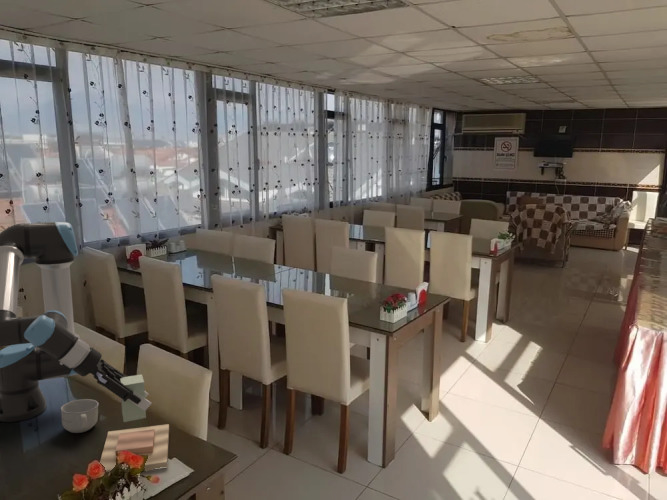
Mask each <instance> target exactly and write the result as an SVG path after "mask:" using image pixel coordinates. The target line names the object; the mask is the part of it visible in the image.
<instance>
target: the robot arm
mask: <svg viewBox="0 0 667 500" xmlns="http://www.w3.org/2000/svg"><path fill="white" fill-rule="evenodd" d="M78 255H79V250H78V246H77V241H76V236H75V231H74V228H73V225H72V224H71V223H70V222H65V221H64V222H63V221H50V222H49V221H48V222H46V221H45V222H34V223H33V222H31V223H25V222H24V223H16V224H13V225H10V226H9V227H7V228H4V230H2V231H1V232H0V347H1V348H2V347H4V348H2V349H0V422H3V423H5V422H6V423H13V422H20V421H25V420H28V419H31V418H35V417H36V416H39V415H40V414H41V413H43V412H44V411H46V409H47V400H46V398H45V396H44V394H43V392H42V389H41V388H40V383H39V381H44V380H52V379H58V378H65V377H67V378H68V377H70V376H75V375H79V376H81V377H86V376H88V375H89V374H92V375H93V378H94V379H95V380H96V383H97V384H98V385H101V386H102V387H104V388H106V389H107V390H108V391H110V392H111V393H113V394H114V395H116V396H118V397H119V398H122V399H123V400H124V402H125V401H126V400H129V401H130V402H132V403H133V404H135V405H136V406H138V407H139V408H141V409H142V410H144V411H145V410H146V411H147V409H148V408H149V407H150V406H151V405H152V402H151V401H150V400H148V399H147V397H148V396H149V395H150V394H149V393H148V392H147V391H146V390H145V398H144V397H142V396H141V395H139V394H138V393H136V392H135V391H132V390H130V389H129V388H128V387H126V386H125V385H124V384H123V383H121V382H120V378H123V377H128V375H126V374H124V373H122V372H121V371H120V370H118V369H117V368H115V367H114V366H112V365H111V364H110V363H108V362H106V360H104V359H102V353H101V352H100V351H98V350H97V349H95V348H93V347H90V345H89V344H88V343H87V342H85V340H82V339H81V337H80V335H79V334H78V333H76V332H75V321H74V308H73V306H74V305H73V295H72V294H73V293H72V292H73V291H72V281H71V279H72V278H71V269H70V266H71V265H72V264H73V263H74V262H75V257H77V256H78ZM25 259H34V262H35V263H34V264H35V265H36V266H37V267H38V268H40V271H41V272H40V273H41V274H40V275H41V284H42V285H41V286H42V296H43V308H44V313H42V314H36V315H28V316H18V303H19V302H18V301H19V285H20V283H19V282H20V266H21V265H22V264H23V263H24V260H25Z"/></svg>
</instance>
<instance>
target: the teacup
mask: <svg viewBox="0 0 667 500" xmlns="http://www.w3.org/2000/svg"><path fill="white" fill-rule="evenodd" d="M60 411H61V413H60V414H61V424H62V427H63V429H65V431H68V432H69V433H72V434H73V433H74V434H79V433H85V432H87V431H90V430H91V429H92V428H93V427H94V426H95V425H96V424H97V423H98V420H99V419H98V417H99V402H98V401H97V400H95V399H90V398H84V399H82V398H81V399H75V400H71V401H69V402H66V403H65V404H63V405H62V406H61V407H60Z"/></svg>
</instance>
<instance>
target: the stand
mask: <svg viewBox="0 0 667 500" xmlns="http://www.w3.org/2000/svg"><path fill="white" fill-rule="evenodd" d="M169 438H170V424H168V423H167V424H166V423H165V424H159V425H158V424H157V425H150V426H144V427H143V426H141V427H136V428H126V429H119V430H111V431H110V430H109V431H107V436H106V439H105V443H104V446H103V450H102V453H101V457H100V460H99V464H100V463H101V464H102V465H103V466H104V467H105V470H106V472H110V471H111V470H112V469H113V468H114V467H115V465H116V454H117V452H118V451H121V450H129V451H131V452H133V453H135V454H138V455H148V459H147V461H146V463H145V467H144V468H145V470H152V469H155V468H160V467H167V468H168V464H167V461H169V460H168V459H169V443H170V442H169V440H170V439H169Z"/></svg>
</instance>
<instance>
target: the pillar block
mask: <svg viewBox="0 0 667 500" xmlns="http://www.w3.org/2000/svg"><path fill="white" fill-rule="evenodd" d="M120 382H121V383H123V384H124V385H125V386H126V387H128V388H129V389H130V390H132V391H135V392H136V393H138V394H139V395H141V396H142V397H144V398H145V391H146V390H145V380H144V377H143V374H135V375H129V376H128V375H127V377H123V378H120ZM145 399H146V398H145ZM120 402H121V415H122V420H123V423H127V422H132V421H137V420H142V419H146V418H147V413H146V412H147V409H146V410H145V411H144V410H142V409H141V408H139V407H138V406H136V405H135V404H133V403H132V402H130V401H129V400H126V401H125V402H124V400H123V399H122V398H121V401H120Z"/></svg>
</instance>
